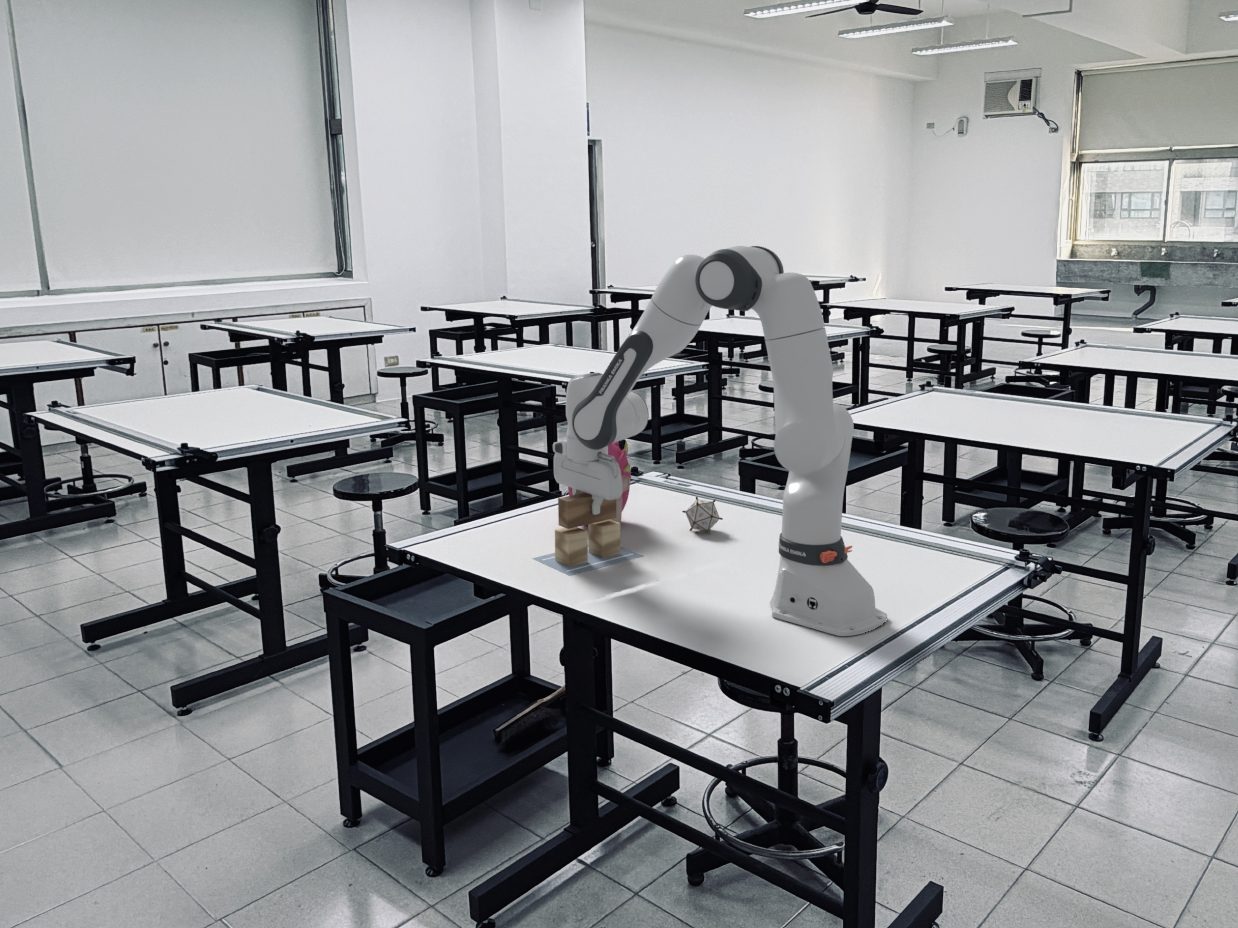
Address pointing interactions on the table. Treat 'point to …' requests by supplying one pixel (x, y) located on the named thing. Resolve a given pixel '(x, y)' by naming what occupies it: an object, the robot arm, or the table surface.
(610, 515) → the walnut lintel
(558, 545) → the pillar left
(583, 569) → the blueprint board
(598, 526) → the pillar right
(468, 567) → the table surface
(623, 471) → the pink dragon fruit
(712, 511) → the game die
